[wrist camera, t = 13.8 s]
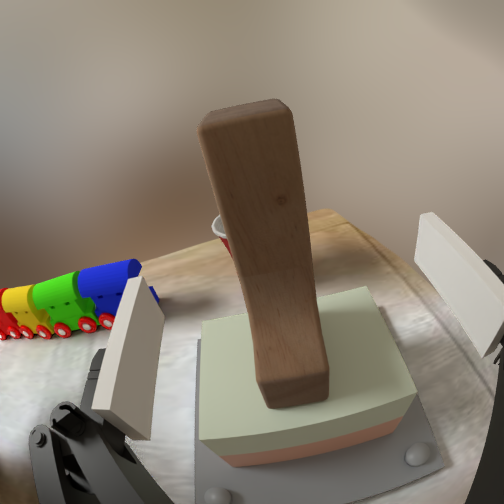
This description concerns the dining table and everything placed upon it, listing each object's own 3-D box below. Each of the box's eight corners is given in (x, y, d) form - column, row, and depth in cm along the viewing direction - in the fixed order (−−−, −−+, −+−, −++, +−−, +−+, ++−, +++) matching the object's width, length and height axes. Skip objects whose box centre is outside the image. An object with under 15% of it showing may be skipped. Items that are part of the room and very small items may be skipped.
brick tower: (200, 520, 19) (146, 510, 13) (200, 344, 39) (171, 287, 33) (440, 468, 18) (489, 435, 12) (372, 307, 38) (378, 242, 32)
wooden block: (329, 401, 18) (315, 123, 8) (267, 411, 19) (171, 153, 9) (310, 312, 26) (280, 96, 16) (261, 320, 26) (204, 112, 16)
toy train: (-4, 345, 45) (-33, 309, 39) (8, 323, 51) (-18, 287, 45) (158, 326, 43) (126, 271, 37) (164, 295, 49) (138, 241, 43)
